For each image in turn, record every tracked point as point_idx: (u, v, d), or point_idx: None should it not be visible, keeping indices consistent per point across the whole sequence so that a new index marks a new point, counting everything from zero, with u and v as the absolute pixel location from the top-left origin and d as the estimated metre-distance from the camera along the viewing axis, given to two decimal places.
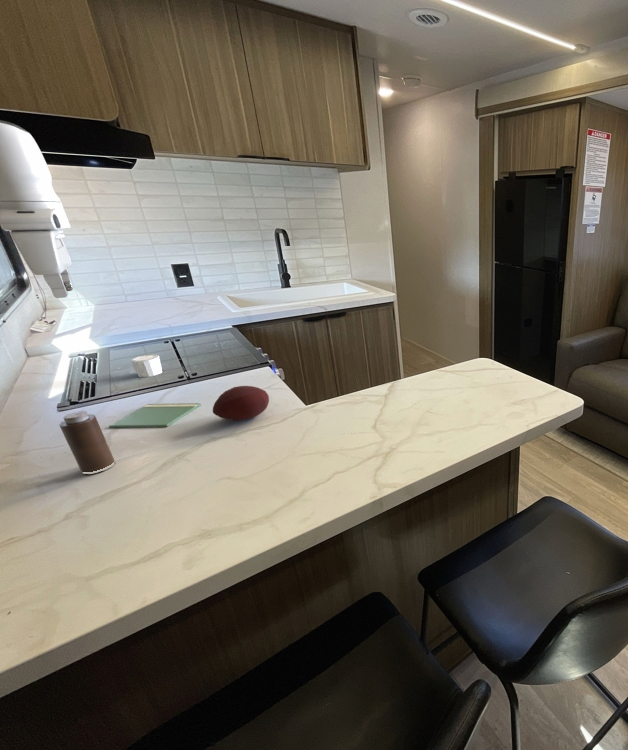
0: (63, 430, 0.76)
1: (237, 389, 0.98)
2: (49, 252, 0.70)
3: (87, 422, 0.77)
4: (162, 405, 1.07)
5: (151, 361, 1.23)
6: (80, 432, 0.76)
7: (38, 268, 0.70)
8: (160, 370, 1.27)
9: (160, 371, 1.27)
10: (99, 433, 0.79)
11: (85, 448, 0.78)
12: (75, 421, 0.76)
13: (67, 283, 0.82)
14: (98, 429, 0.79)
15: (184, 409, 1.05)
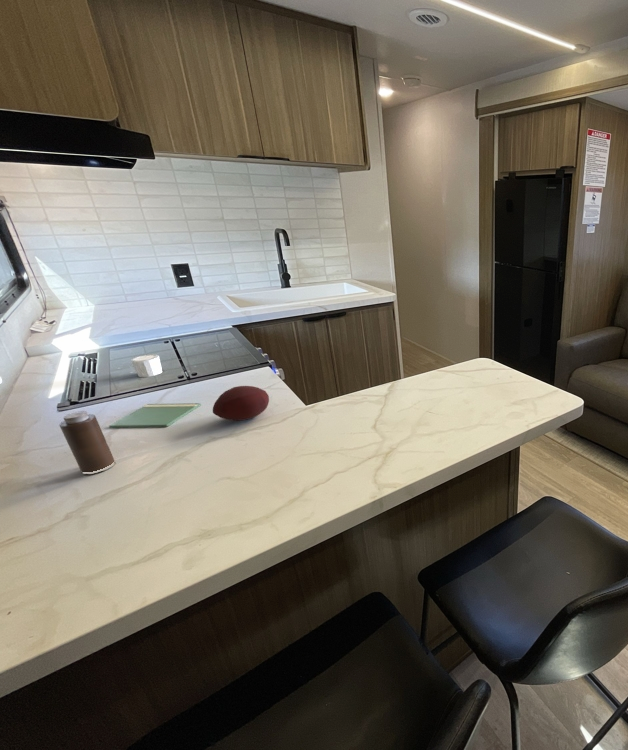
0: (63, 430, 0.76)
1: (237, 389, 0.98)
2: None
3: (87, 422, 0.77)
4: (162, 405, 1.07)
5: (151, 361, 1.23)
6: (80, 432, 0.76)
7: None
8: (160, 370, 1.27)
9: (160, 371, 1.27)
10: (99, 433, 0.79)
11: (85, 448, 0.78)
12: (75, 421, 0.76)
13: None
14: (98, 429, 0.79)
15: (184, 409, 1.05)
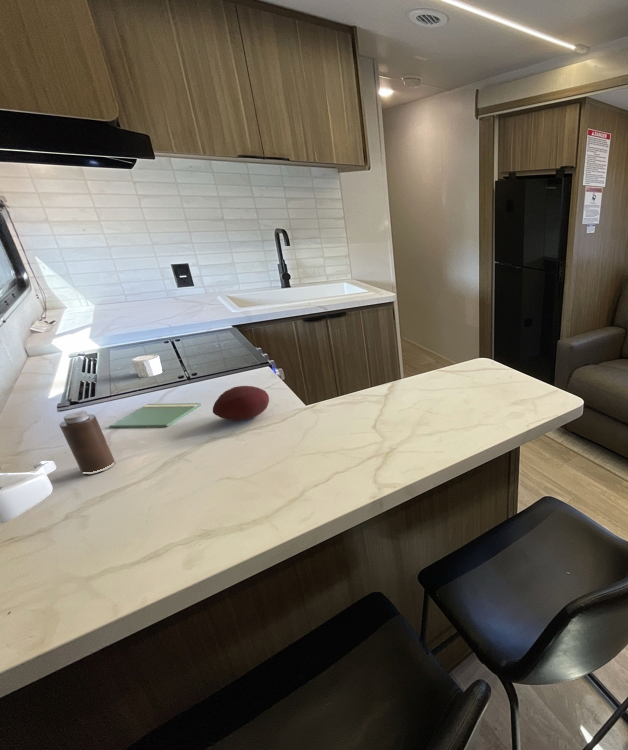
0: (63, 430, 0.76)
1: (237, 389, 0.98)
2: (23, 488, 0.60)
3: (87, 422, 0.77)
4: (162, 405, 1.07)
5: (151, 361, 1.23)
6: (80, 432, 0.76)
7: (48, 489, 0.63)
8: (160, 370, 1.27)
9: (160, 371, 1.27)
10: (99, 433, 0.79)
11: (85, 448, 0.78)
12: (75, 421, 0.76)
13: None
14: (98, 429, 0.79)
15: (184, 409, 1.05)
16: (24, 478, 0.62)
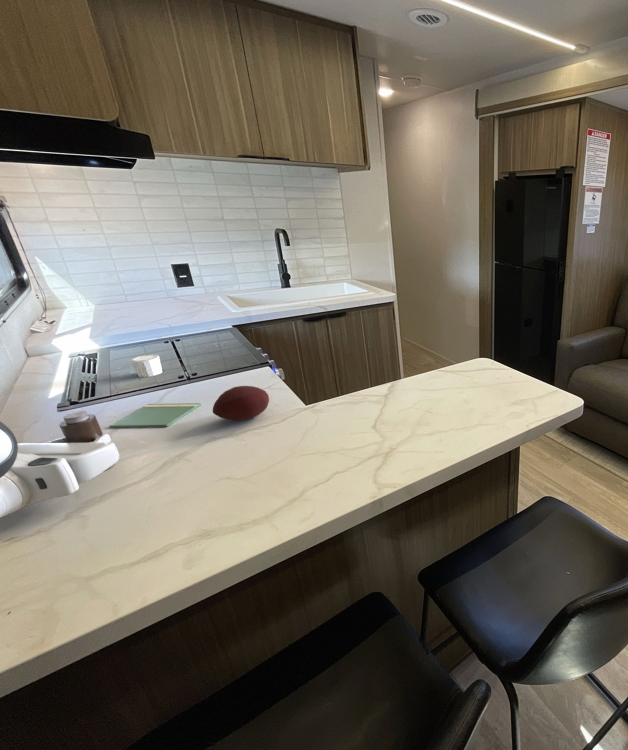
0: (63, 430, 0.76)
1: (237, 389, 0.98)
2: (99, 454, 0.72)
3: (87, 422, 0.77)
4: (162, 405, 1.07)
5: (151, 361, 1.23)
6: (80, 432, 0.76)
7: (117, 456, 0.75)
8: (160, 370, 1.27)
9: (160, 371, 1.27)
10: (99, 433, 0.79)
11: None
12: (75, 421, 0.76)
13: None
14: (98, 429, 0.79)
15: (184, 409, 1.05)
16: (98, 446, 0.73)
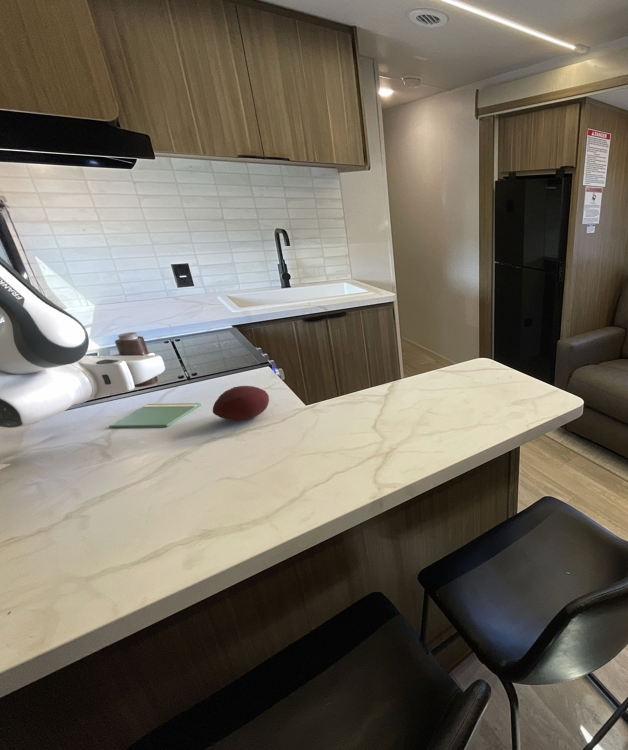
0: (118, 346, 0.91)
1: (237, 389, 0.98)
2: (150, 362, 0.87)
3: (137, 340, 0.92)
4: (162, 405, 1.07)
5: None
6: (132, 348, 0.91)
7: (163, 367, 0.90)
8: None
9: None
10: (146, 352, 0.94)
11: None
12: (128, 339, 0.91)
13: None
14: (146, 348, 0.94)
15: (184, 409, 1.05)
16: (148, 357, 0.88)
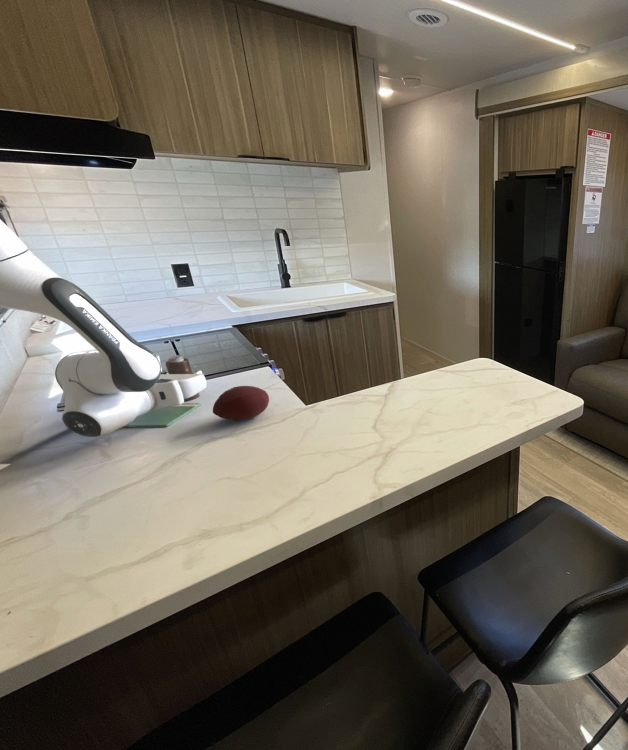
0: (168, 367, 1.07)
1: (237, 389, 0.98)
2: (195, 380, 1.03)
3: (183, 362, 1.09)
4: None
5: None
6: (179, 368, 1.08)
7: (205, 383, 1.06)
8: None
9: None
10: (190, 371, 1.11)
11: None
12: (176, 361, 1.08)
13: (163, 374, 1.10)
14: (190, 368, 1.11)
15: (184, 409, 1.05)
16: (193, 375, 1.05)
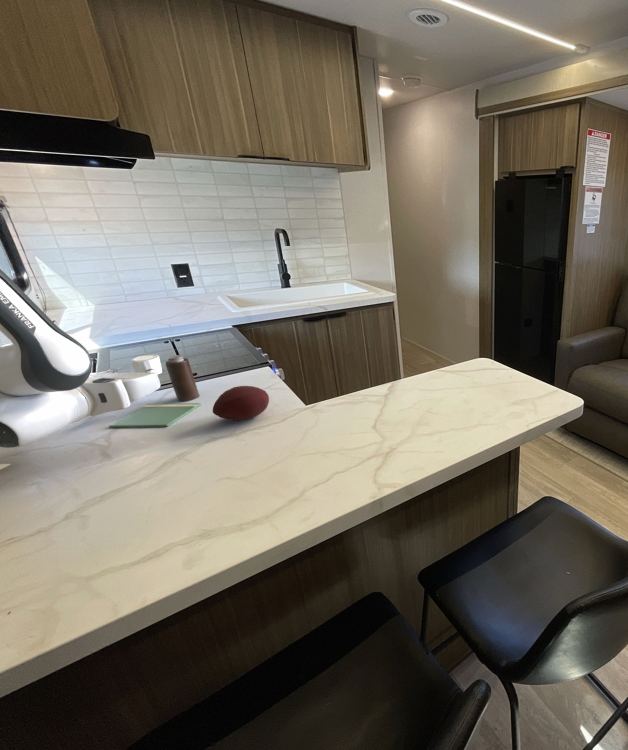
0: (168, 367, 1.07)
1: (237, 389, 0.98)
2: (145, 379, 0.89)
3: (183, 362, 1.09)
4: (162, 405, 1.07)
5: (151, 361, 1.23)
6: (179, 368, 1.08)
7: (158, 384, 0.92)
8: (160, 370, 1.27)
9: (160, 371, 1.27)
10: (190, 371, 1.11)
11: (182, 381, 1.09)
12: (176, 361, 1.08)
13: (111, 372, 0.95)
14: (190, 368, 1.11)
15: (184, 409, 1.05)
16: (144, 374, 0.90)
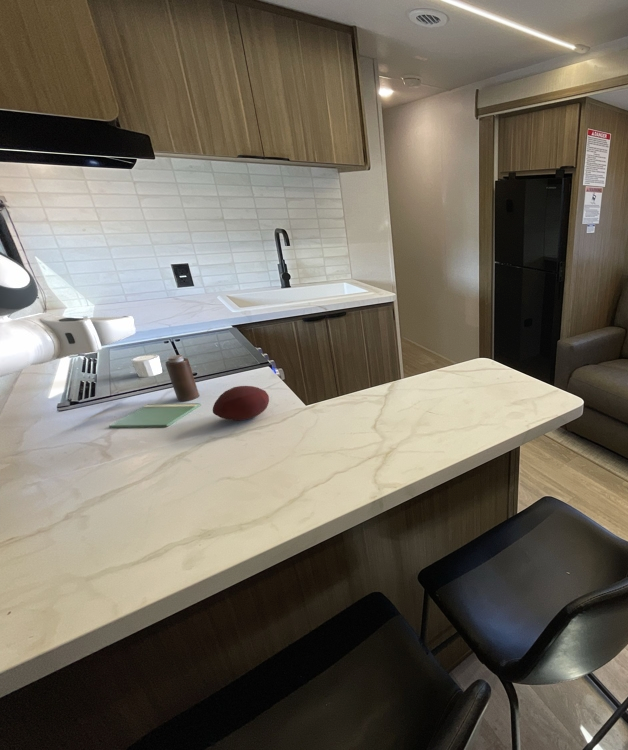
0: (168, 367, 1.07)
1: (237, 389, 0.98)
2: (118, 322, 0.82)
3: (183, 362, 1.09)
4: (162, 405, 1.07)
5: (151, 361, 1.23)
6: (179, 368, 1.08)
7: (133, 329, 0.85)
8: (160, 370, 1.27)
9: (160, 371, 1.27)
10: (190, 371, 1.11)
11: (182, 381, 1.09)
12: (176, 361, 1.08)
13: None
14: (190, 368, 1.11)
15: (184, 409, 1.05)
16: (117, 318, 0.84)
